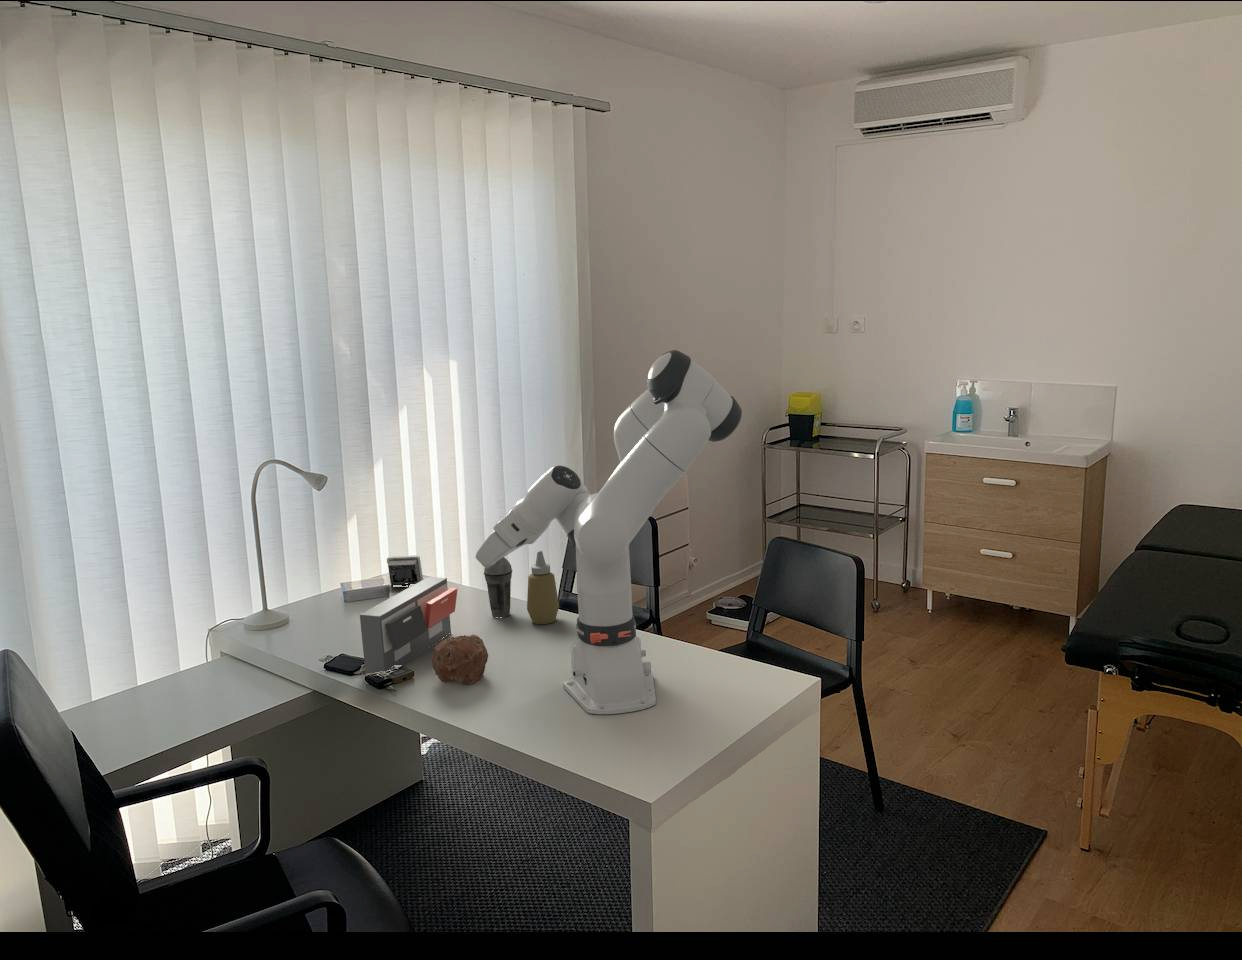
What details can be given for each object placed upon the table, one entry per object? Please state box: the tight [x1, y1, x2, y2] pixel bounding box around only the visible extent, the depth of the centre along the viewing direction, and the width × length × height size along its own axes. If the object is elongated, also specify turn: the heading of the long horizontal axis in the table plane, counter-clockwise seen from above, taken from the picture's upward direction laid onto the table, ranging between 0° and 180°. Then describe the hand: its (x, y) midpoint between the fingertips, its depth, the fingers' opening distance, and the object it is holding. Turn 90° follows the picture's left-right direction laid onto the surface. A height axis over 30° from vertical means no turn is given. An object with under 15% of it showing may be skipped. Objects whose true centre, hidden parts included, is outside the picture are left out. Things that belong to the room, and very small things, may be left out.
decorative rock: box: [430, 634, 489, 685], centre depth 197 cm, size 13×11×10 cm
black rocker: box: [386, 606, 427, 650], centre depth 204 cm, size 1×12×6 cm, turn 160°
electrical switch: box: [386, 554, 424, 588], centre depth 264 cm, size 9×5×9 cm, turn 92°
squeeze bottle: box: [526, 550, 560, 625], centre depth 230 cm, size 8×8×18 cm
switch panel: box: [359, 576, 452, 674], centre depth 212 cm, size 5×28×14 cm, turn 160°
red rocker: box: [425, 586, 458, 628], centre depth 217 cm, size 1×12×6 cm, turn 160°
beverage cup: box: [483, 557, 513, 619], centre depth 236 cm, size 7×7×20 cm
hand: (487, 564), depth 210 cm, fingers closed
